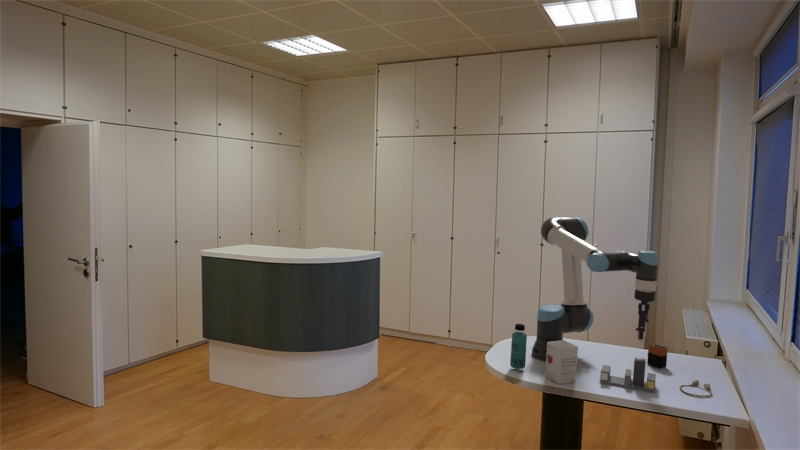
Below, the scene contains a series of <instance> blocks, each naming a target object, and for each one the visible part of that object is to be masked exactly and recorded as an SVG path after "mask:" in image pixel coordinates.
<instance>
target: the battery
mask: <svg viewBox="0 0 800 450" xmlns="http://www.w3.org/2000/svg"><path fill="white" fill-rule="evenodd" d="M667 361H668V347H667V346H665V345H664V344H658V343H656V342H652V343H651V344H648V349H647V365H649V366H652V367H654V368H658V369H664V368H667V364H668V363H667Z"/></svg>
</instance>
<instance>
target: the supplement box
mask: <svg viewBox="0 0 800 450" xmlns="http://www.w3.org/2000/svg"><path fill="white" fill-rule="evenodd" d="M578 351H579V346H578V345H576V344H573V343H571V342H570V341H566V340H564V339H563V340H560V341H551V342H547V354H546V361H545V373H544V376H545V378H548V379H549V380H551V381H552V382H554V383H556V384H558V385H563V384H567V383H574V382H576V380H577V379H576V378H577V367H578V366H577V365H578V364H577V363H578V353H579V352H578Z"/></svg>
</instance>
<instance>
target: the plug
mask: <svg viewBox="0 0 800 450" xmlns="http://www.w3.org/2000/svg"><path fill="white" fill-rule="evenodd" d="M633 360H634V361H633V373H632V374H633V375H632V380H633V385H637V386H642V387H644V382H645V375H646V358H644V357H640V356H637V357H634V359H633Z"/></svg>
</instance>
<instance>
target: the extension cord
mask: <svg viewBox="0 0 800 450" xmlns="http://www.w3.org/2000/svg"><path fill="white" fill-rule="evenodd" d="M699 383H700V381H699V380H698V379H695V380H693V381H692V383H691V384H682V385H680V386H679V390H680V392H682V393H684V394H686V395H688V396H691V397H696V398H703V397H704V398H710V397H713V392H712V391H711V384H710V383H704V385H703V387H704V388H702V387H700V386H698V385H699ZM682 387H693V388H698V389H701V390H703V391H706V392H707V393H709V394H708V395H705V394H704V395H703V394H702V395H700V394H695V393H690V392H687V391H684V390H683V389H682Z"/></svg>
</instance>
